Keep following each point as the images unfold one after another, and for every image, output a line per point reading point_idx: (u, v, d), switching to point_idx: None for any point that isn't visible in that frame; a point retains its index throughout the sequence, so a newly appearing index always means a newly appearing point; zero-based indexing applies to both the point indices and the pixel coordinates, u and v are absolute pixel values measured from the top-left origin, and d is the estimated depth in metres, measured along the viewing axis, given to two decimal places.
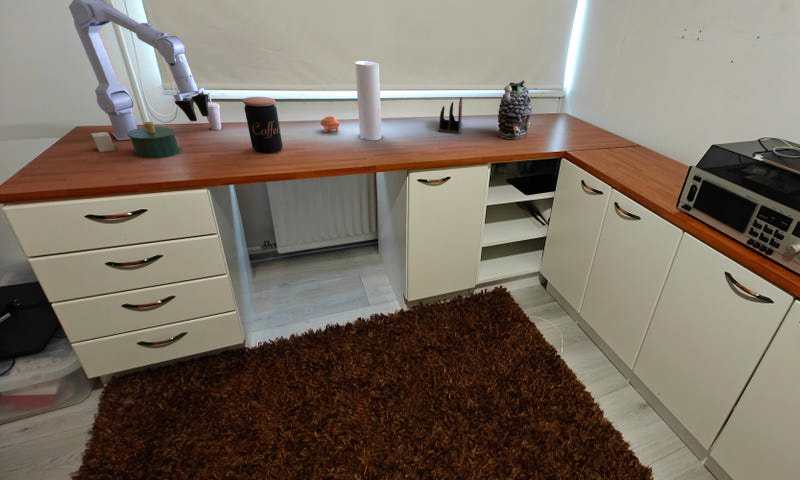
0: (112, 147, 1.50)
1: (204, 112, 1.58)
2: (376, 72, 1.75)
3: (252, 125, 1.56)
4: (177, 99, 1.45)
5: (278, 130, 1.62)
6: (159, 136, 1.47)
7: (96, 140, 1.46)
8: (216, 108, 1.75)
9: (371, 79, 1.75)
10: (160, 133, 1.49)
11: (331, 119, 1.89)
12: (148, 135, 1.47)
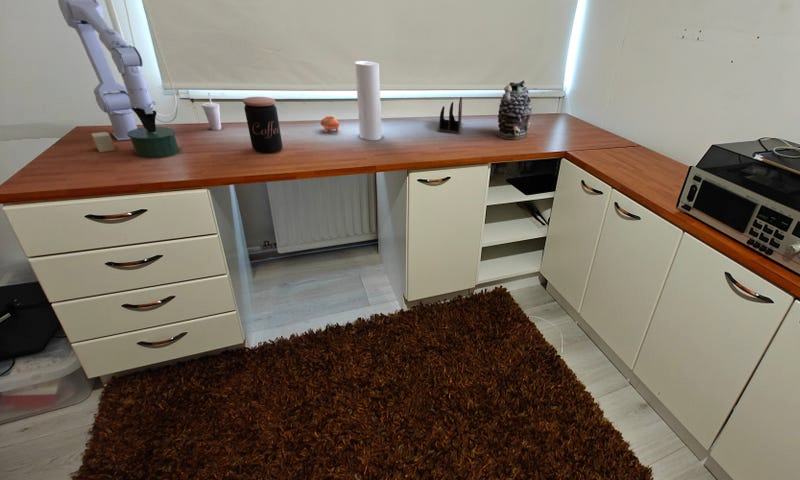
0: (112, 147, 1.50)
1: None
2: (376, 72, 1.75)
3: (252, 124, 1.56)
4: (148, 112, 1.41)
5: (278, 130, 1.62)
6: (159, 136, 1.47)
7: (96, 140, 1.46)
8: (216, 108, 1.75)
9: (371, 79, 1.75)
10: (160, 133, 1.49)
11: (331, 119, 1.89)
12: (148, 135, 1.47)
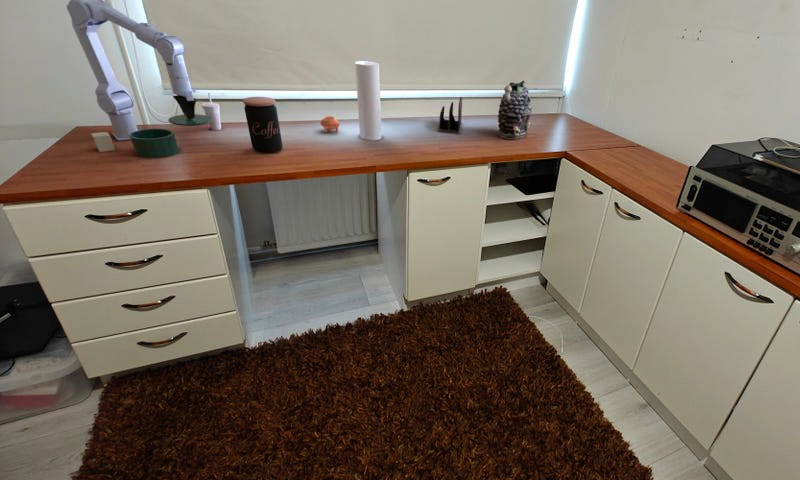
0: (112, 147, 1.50)
1: None
2: (376, 72, 1.75)
3: (252, 125, 1.56)
4: (189, 99, 1.48)
5: (278, 130, 1.62)
6: (198, 122, 1.55)
7: (96, 140, 1.46)
8: (216, 108, 1.75)
9: (371, 79, 1.75)
10: (199, 120, 1.57)
11: (331, 119, 1.89)
12: (188, 121, 1.54)
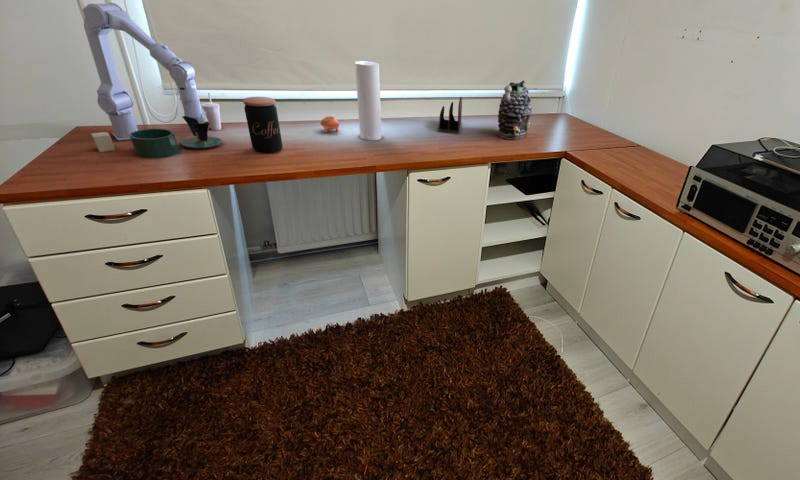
0: (112, 147, 1.50)
1: (196, 132, 1.64)
2: (376, 72, 1.75)
3: (252, 124, 1.56)
4: (201, 121, 1.54)
5: (278, 130, 1.62)
6: (209, 145, 1.61)
7: (96, 140, 1.46)
8: (216, 108, 1.75)
9: (371, 79, 1.75)
10: (210, 142, 1.63)
11: (331, 119, 1.89)
12: (199, 144, 1.60)
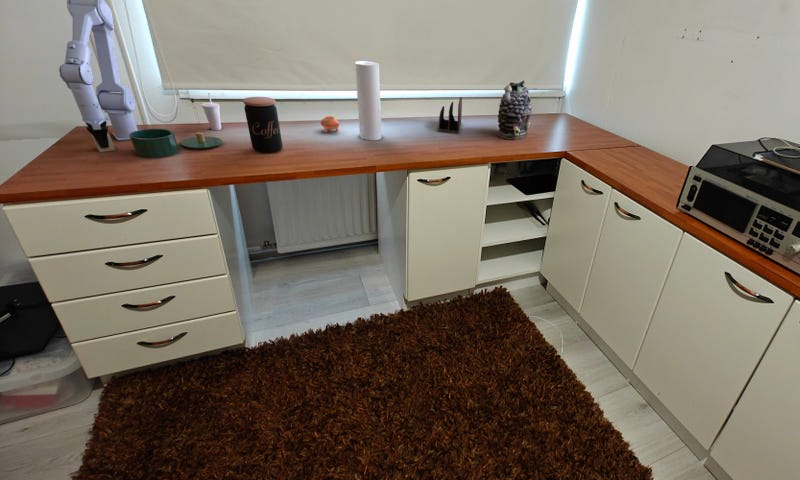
0: (112, 147, 1.50)
1: None
2: (376, 72, 1.75)
3: (252, 125, 1.56)
4: (96, 128, 1.41)
5: (278, 130, 1.62)
6: (209, 145, 1.61)
7: None
8: (216, 108, 1.75)
9: (371, 79, 1.75)
10: (210, 142, 1.63)
11: (331, 119, 1.89)
12: (199, 144, 1.60)
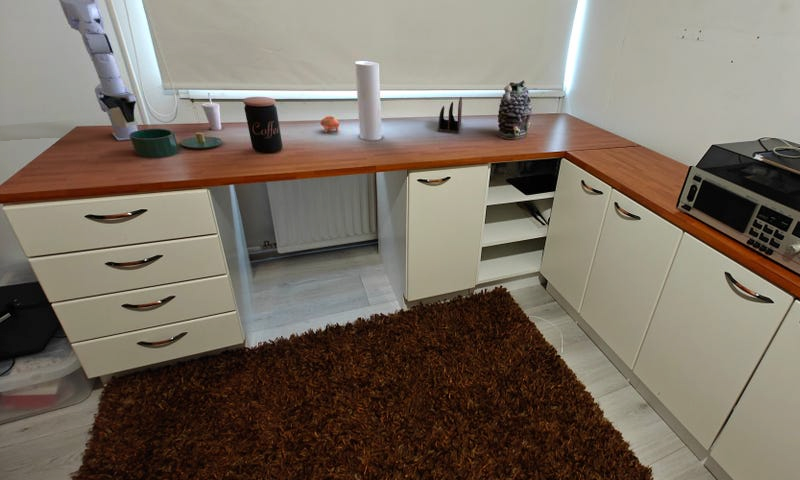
0: (135, 121, 1.48)
1: None
2: (376, 72, 1.75)
3: (252, 125, 1.56)
4: (132, 99, 1.40)
5: (278, 130, 1.62)
6: (209, 145, 1.61)
7: (122, 114, 1.43)
8: (216, 108, 1.75)
9: (371, 79, 1.75)
10: (210, 142, 1.63)
11: (331, 119, 1.89)
12: (199, 144, 1.60)
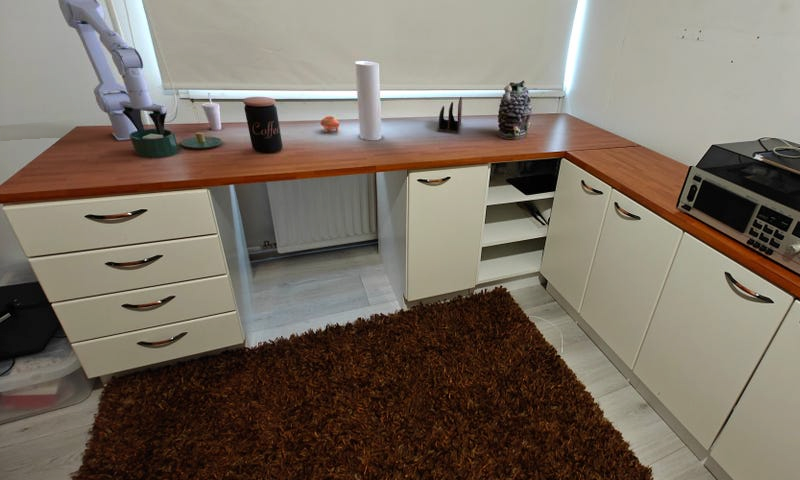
0: None
1: (140, 127, 1.49)
2: (376, 72, 1.75)
3: (252, 125, 1.56)
4: (164, 111, 1.45)
5: (278, 130, 1.62)
6: (209, 145, 1.61)
7: None
8: (216, 108, 1.75)
9: (371, 79, 1.75)
10: (210, 142, 1.63)
11: (331, 119, 1.89)
12: (199, 144, 1.60)
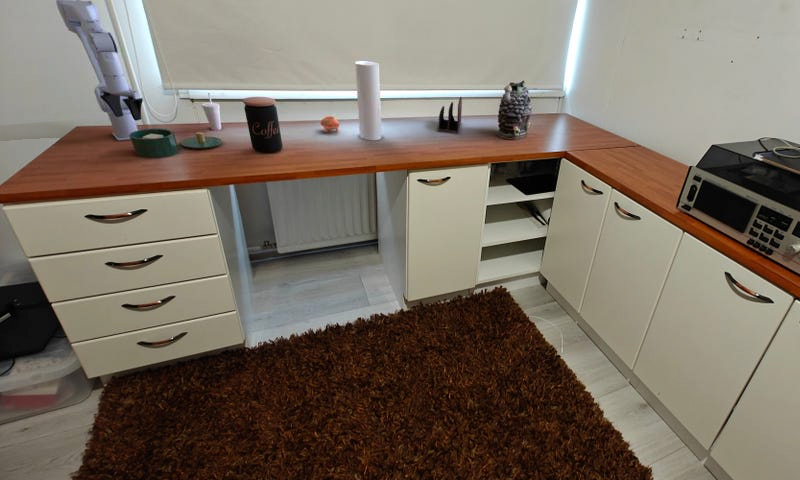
0: None
1: (119, 112, 1.49)
2: (376, 72, 1.75)
3: (252, 125, 1.56)
4: (137, 97, 1.43)
5: (278, 130, 1.62)
6: (209, 145, 1.61)
7: None
8: (216, 108, 1.75)
9: (371, 79, 1.75)
10: (210, 142, 1.63)
11: (331, 119, 1.89)
12: (199, 144, 1.60)
